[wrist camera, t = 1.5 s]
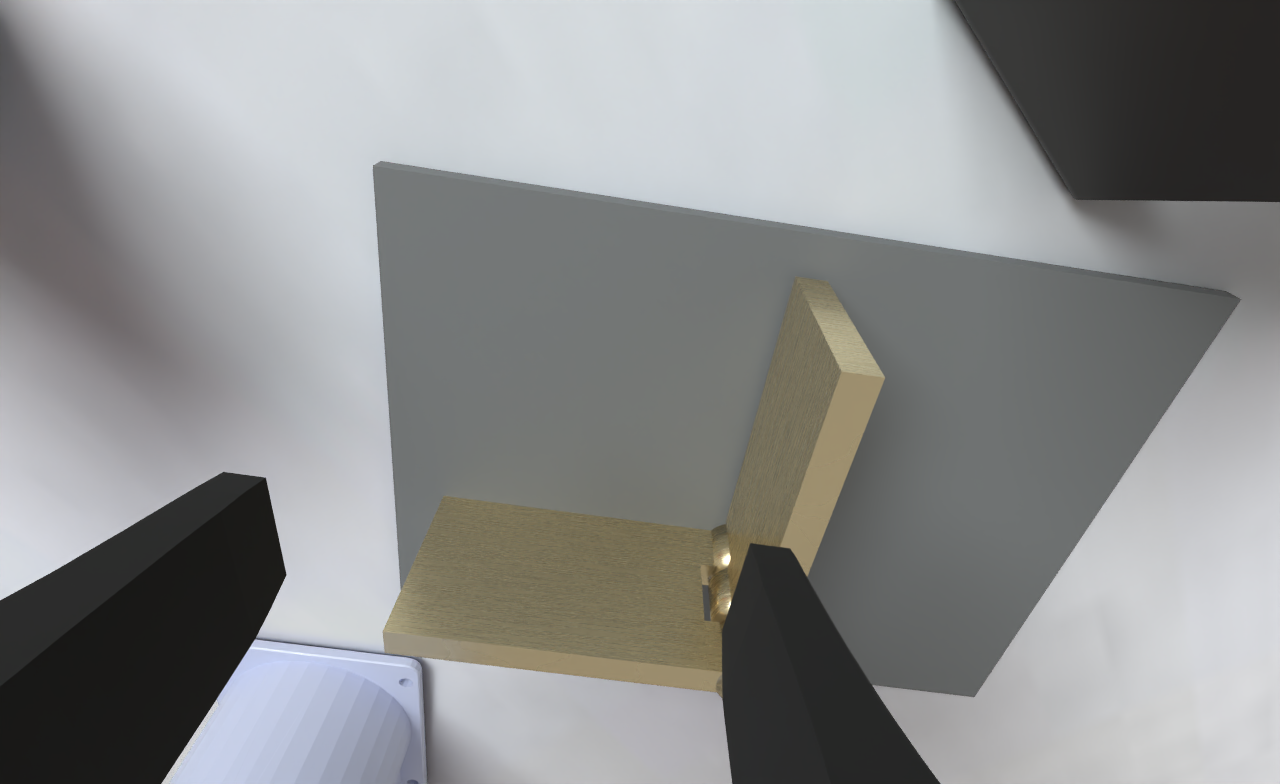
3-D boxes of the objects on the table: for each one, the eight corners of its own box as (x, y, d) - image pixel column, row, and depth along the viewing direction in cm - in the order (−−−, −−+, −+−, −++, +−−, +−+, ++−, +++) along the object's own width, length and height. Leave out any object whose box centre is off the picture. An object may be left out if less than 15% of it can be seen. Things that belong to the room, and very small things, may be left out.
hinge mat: (968, 685, 24) (974, 696, 24) (408, 616, 23) (403, 628, 23) (1225, 291, 16) (1241, 298, 16) (381, 161, 15) (372, 165, 15)
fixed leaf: (761, 526, 20) (792, 691, 15) (749, 563, 21) (775, 731, 16) (443, 485, 20) (372, 641, 15) (444, 525, 20) (376, 685, 16)
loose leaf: (750, 570, 21) (771, 708, 17) (700, 564, 21) (709, 701, 16) (843, 284, 16) (907, 381, 12) (778, 273, 16) (819, 368, 12)
